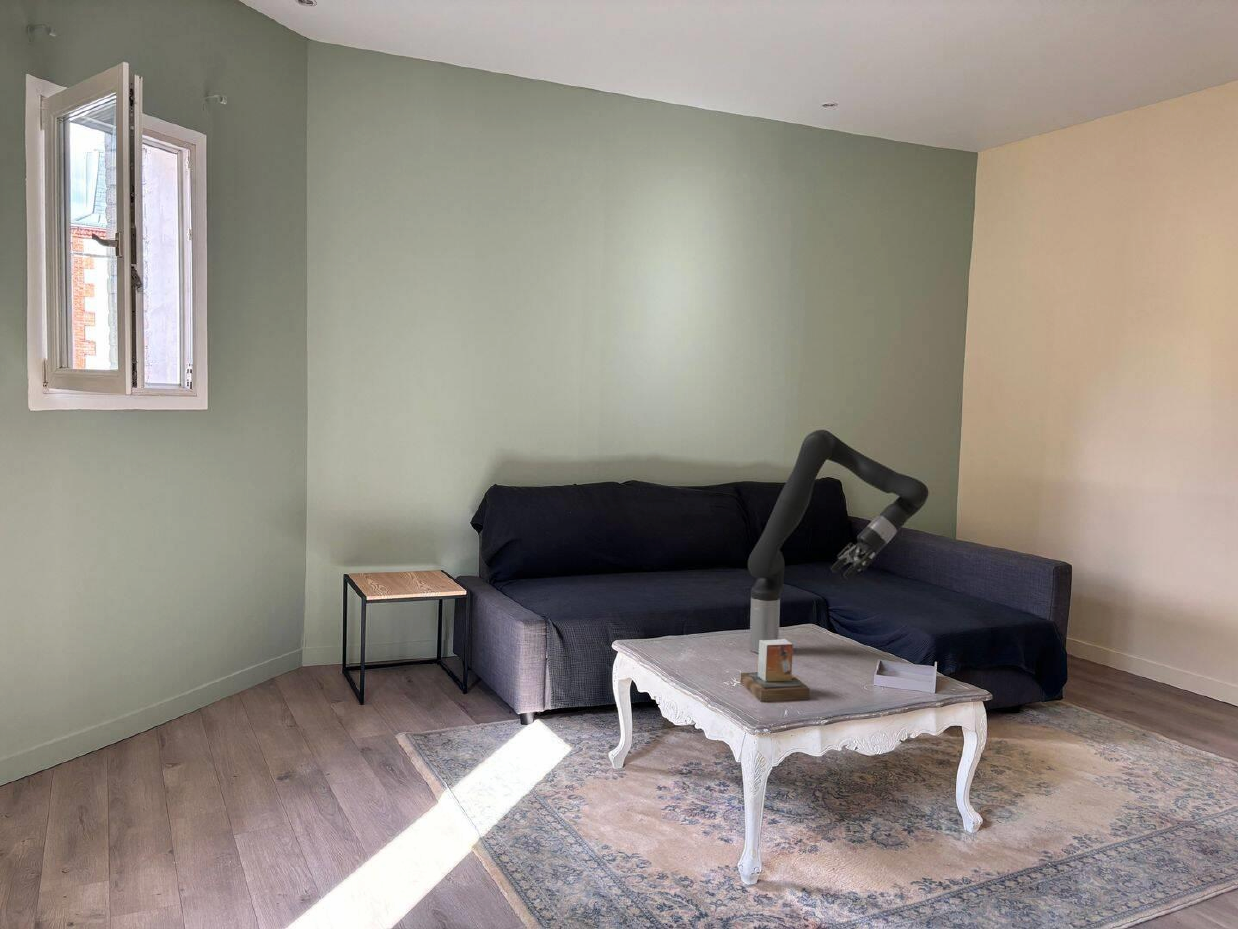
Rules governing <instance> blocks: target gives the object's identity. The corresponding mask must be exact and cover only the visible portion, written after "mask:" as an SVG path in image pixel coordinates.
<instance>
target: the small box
mask: <svg viewBox="0 0 1238 929" xmlns="http://www.w3.org/2000/svg"><path fill="white" fill-rule="evenodd" d="M793 648H794V644H793V643H792V642H790V641H789V640H787V639H786V638H781V639H780V638H779V640H759V653H758V665H757V672H758V677H760V678H761V679H762V680H764V681H765V682H768V681H791V676H792V675H793V674H792V673H793V672H792V670H793V651H794V650H793Z"/></svg>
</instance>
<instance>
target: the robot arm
mask: <svg viewBox="0 0 1238 929" xmlns="http://www.w3.org/2000/svg"><path fill="white" fill-rule="evenodd" d="M826 461H830V462H833V463H836V464H837V465H840V466H842V467H844V468H845V469H847V470H849V471H850V472H851V473H853V475H855V476H857V477H858V479H860V480H862V482H865V483H866V484H868V485H869V486H871V487H873V488H875V489H876V490H879V491H881V492H883V493H885V494H894V495H896V496H898V497H897V498H896V499H895V500H894V502H893V503H890V504H888V505H887V506H886V507H885V508H884V509H883V510H882V512H880V513H879V514H878V515H877V516H876V517H874V519H872V521H871V522H870V523H868V524H867V526H866V527H865V528H864V529H863V530H862V531H860V533H859V534H858V535H857V537H856V539H857V543H855V544H854V543H853V542H849V543H848V544H847V545H846V546H845V547H844V548H842V550H841V551H840V552H839V553H837V556H836V557H837V561H836V562H835V563H834V564H833V565H832V566H831V567H830V570H831V571H832V572H833V573H834V574H837V573H839V571H841V569H843V567H844V566H845V565H847V564H849V563H852V565H850V566H849V567H848V568H847V569H846V571H845V572H844V573H843V576H844V578H845V579H846V580H851V579H852V577H853V576H854V575H855V574H856V573H857V572H860V571H862V572H863V571H865V570H866V569H867V568H868V567H869V566H870V565H871V564H872V563H873V561H874V560H875V559H876V558H877V557H878V554H879V553H880V551H882V549H883V548H884V547H886V545H887V544H888V543H889V542H890V541H891V540H892V539H893V538H894V536H895V535H896V534H897V533H898V531H900V530H901V528H902V527H903V526H904V525H905V524H906V523H907V521H908V520H910V519H911V517H913V516H914V515H915V514H916V513H917V512H919V511H920V510H921V509H922V508H923V507H924V505H925V504H926V502H927V499H928V498H929V494H930V493H929V488H928V487H927V485H926V484H925V483H924V482H922V481H921V480H919V479H918V478H914V477H912V476H908V475H906V474H903V473H899V472H897V471H895V470H893V469H891V468H889V467H888V466H885V465H884V464H881V463H880V462H878V461H876V460H874V459H872V458H870V457H868V456H866V455H864V454H862V453H860V452H859V451H857V450H856V449H854V448H852V447H851V446H849V445H848V444H846V443H845V442H844V441H842V440H841V439H840V438H838V437H837V436H836V435H834V434H833V433H831V432H830V431H829V430H826V429H817V430H815V431H812V432H811V433H809V434H808V435H806V437H805V438H804V439H803V441H802V444H801V447H800V449H799V453H798V456H797V459H796V461H795V464H794V467H793V469H792V471H791V473H790V475H789V476H788V479H787V480H786V482H785V484H784V486H783V488H782V490H781V492H780V494H779V495H778V498H777V500H776V503H775V505H774V507H773V510H772V512H771V514H770V517H769V519H768V521H767V522H766V525H765V528H764V530H763V532H762V534H761V536H760V537H759V540H758V541H757V543H756V544H755V546H754V548H753V550H752V551H751V553H750V555H749V557H748V561H747V569H748V571H749V573H750V575H751V576H752V577H754V578H756V579H757V580H756V582H755V584H754V585H753V586H752V588H751V590H750V617H749V618H750V619H749V620H750V623H749V625H750V626H749V651H750V652H753V653H756V654H759V640H780V617H781V616H780V610H781V593H782V591H783V588H784V579H785V559H784V556H783V553H782V552H781V551H780V549H781V547H782V546H783V544H784V542H785V541H786V540H787V539H788V537H789V536H790V535H791V534H792V533H793V532H794V530H795V529H796V528H797V527H798V526H799V524H800V522H801V521H802V519H803V517H804V515H805V512H806V510H807V509H808V506H809V504H810V501H811V498H812V493H813V488H814V484H815V482H816V479H817V476H818V474H819V473H820V472H821V469H822V467H823V466H824V465H825V463H826Z"/></svg>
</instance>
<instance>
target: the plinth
mask: <svg viewBox="0 0 1238 929" xmlns="http://www.w3.org/2000/svg"><path fill="white" fill-rule="evenodd" d="M740 684H741V685H742V686H743V687H744V688H745V689H746V690H747V691H749V693H750V694H752V695H753V696H754V697H755V698H756V699H757V700H758V701H760V702H762V703H763V702H765V703H766V702H780V701H781V702H782V700H783V701H796V700H797V701H799V700H810V689H811V688H810V687H809V686H808V685H806V684H805V683H804V682H802V681H801V680H800V679H799V678H797V677H796V676H794V675H793V674H792V676H791V681H768V682H765V681H764V680H762V679H761V678H760V677H758V671H757V672H756V671H755V672H740ZM795 699H796V700H795Z"/></svg>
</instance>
